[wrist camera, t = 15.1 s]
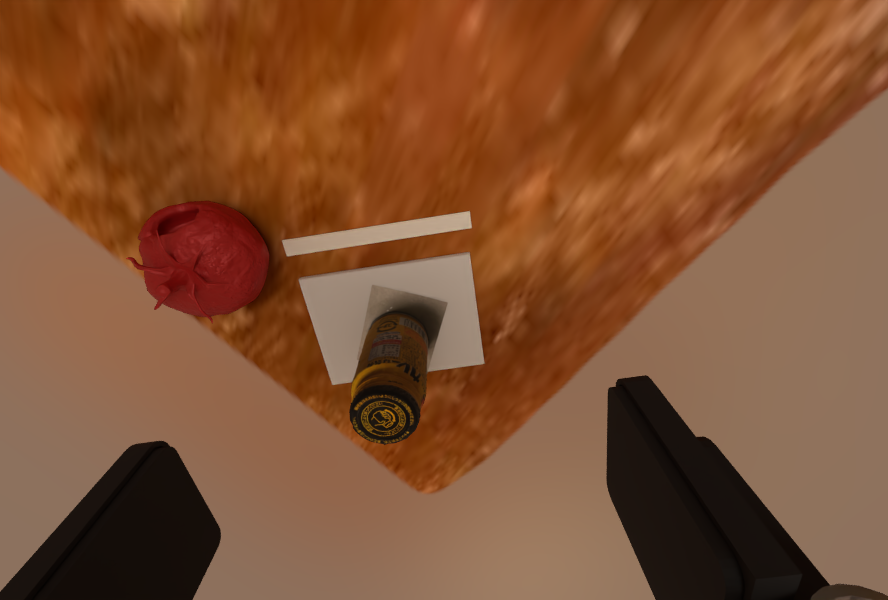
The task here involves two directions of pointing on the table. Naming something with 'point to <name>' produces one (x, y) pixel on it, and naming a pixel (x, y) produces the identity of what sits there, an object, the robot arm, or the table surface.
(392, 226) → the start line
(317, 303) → the mat
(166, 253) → the pomegranate
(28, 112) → the table surface
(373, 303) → the condiment
